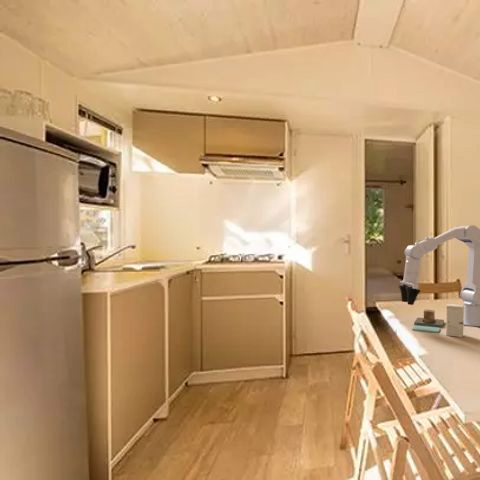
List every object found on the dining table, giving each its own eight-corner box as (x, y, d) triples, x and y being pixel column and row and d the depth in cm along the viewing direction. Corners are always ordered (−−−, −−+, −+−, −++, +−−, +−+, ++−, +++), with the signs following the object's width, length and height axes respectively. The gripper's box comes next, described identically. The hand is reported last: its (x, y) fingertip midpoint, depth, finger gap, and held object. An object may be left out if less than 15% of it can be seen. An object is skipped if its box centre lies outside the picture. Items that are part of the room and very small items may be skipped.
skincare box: (446, 335, 154) (445, 305, 153) (446, 333, 158) (446, 303, 157) (464, 337, 151) (463, 306, 150) (463, 334, 154) (463, 304, 154)
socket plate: (443, 322, 175) (443, 319, 175) (441, 327, 166) (441, 325, 166) (417, 319, 181) (417, 317, 181) (414, 325, 172) (414, 322, 172)
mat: (440, 329, 164) (440, 327, 164) (438, 333, 158) (438, 331, 158) (414, 326, 169) (414, 325, 169) (412, 330, 163) (412, 328, 163)
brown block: (434, 323, 174) (434, 310, 174) (433, 325, 171) (433, 311, 171) (424, 322, 176) (424, 309, 176) (423, 324, 173) (423, 311, 173)
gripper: (396, 270, 176) (393, 299, 176) (407, 272, 161) (403, 304, 161) (412, 272, 175) (408, 301, 175) (424, 274, 161) (420, 307, 161)
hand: (407, 303), depth 168 cm, fingers open, 7 cm apart
